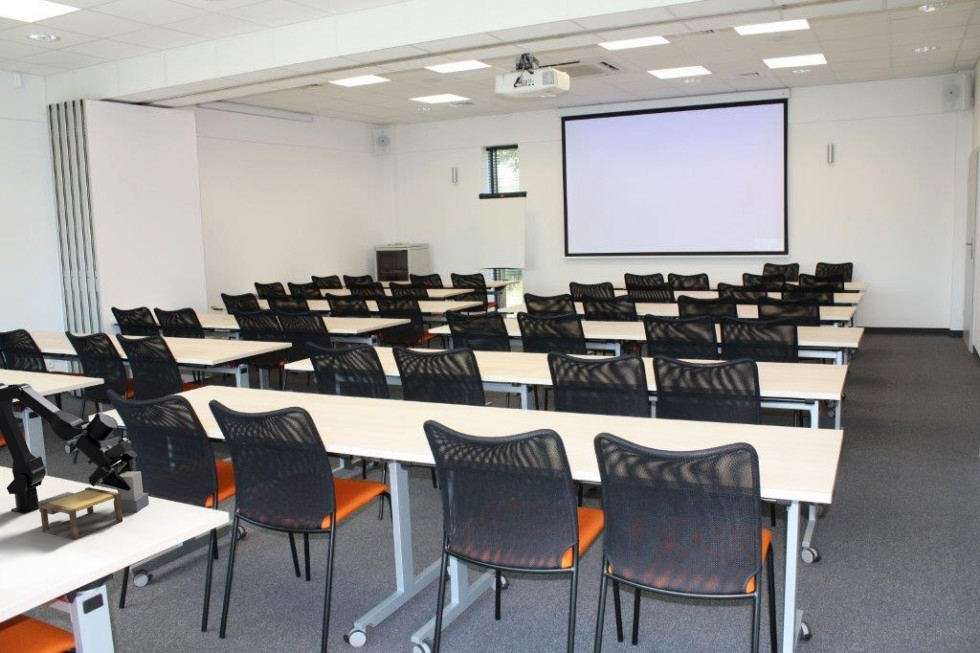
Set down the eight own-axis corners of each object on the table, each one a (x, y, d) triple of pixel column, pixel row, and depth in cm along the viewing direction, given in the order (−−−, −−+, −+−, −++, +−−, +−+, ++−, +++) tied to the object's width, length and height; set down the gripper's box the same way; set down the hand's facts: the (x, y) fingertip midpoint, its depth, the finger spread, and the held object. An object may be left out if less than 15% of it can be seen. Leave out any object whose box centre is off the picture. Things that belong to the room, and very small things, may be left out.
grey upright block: (118, 499, 244) (116, 476, 243) (127, 494, 249) (125, 471, 248) (134, 499, 243) (132, 476, 242) (143, 493, 248) (141, 471, 247)
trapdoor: (34, 513, 233) (32, 499, 232) (73, 500, 243) (72, 486, 243) (75, 523, 224) (74, 508, 223) (114, 508, 234) (113, 494, 234)
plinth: (114, 512, 243) (113, 500, 243) (126, 504, 250) (125, 492, 250) (137, 512, 243) (136, 500, 242) (149, 503, 250) (147, 492, 249)
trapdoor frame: (42, 531, 229) (39, 503, 228) (91, 514, 242) (88, 487, 241) (74, 539, 223) (71, 510, 222) (122, 521, 236) (120, 493, 235)
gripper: (94, 440, 235) (135, 478, 235) (128, 424, 253) (166, 459, 253) (70, 467, 236) (111, 504, 237) (106, 449, 255) (143, 483, 255)
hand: (134, 486), depth 245 cm, fingers closed on grey upright block, 5 cm apart
